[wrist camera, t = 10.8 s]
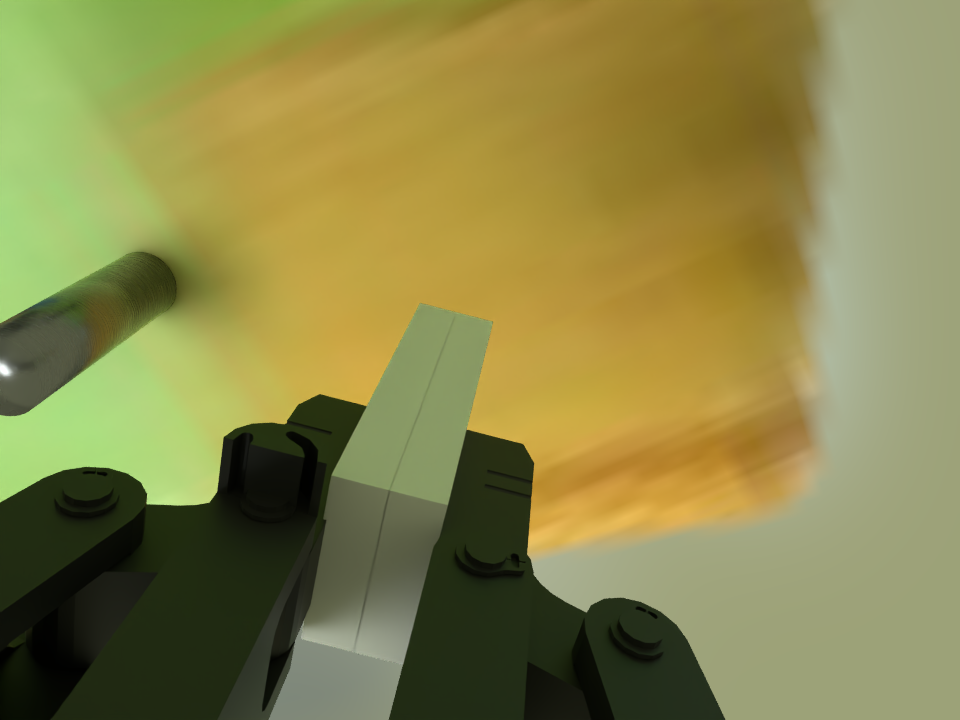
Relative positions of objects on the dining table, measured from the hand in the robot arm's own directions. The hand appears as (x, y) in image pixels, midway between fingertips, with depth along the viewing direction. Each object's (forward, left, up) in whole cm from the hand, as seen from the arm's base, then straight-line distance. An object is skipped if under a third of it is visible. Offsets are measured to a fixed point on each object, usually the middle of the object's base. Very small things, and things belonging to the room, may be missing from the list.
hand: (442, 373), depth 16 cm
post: (+6, -13, -14) cm, 20 cm away
